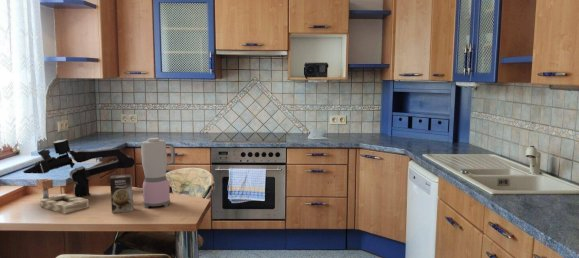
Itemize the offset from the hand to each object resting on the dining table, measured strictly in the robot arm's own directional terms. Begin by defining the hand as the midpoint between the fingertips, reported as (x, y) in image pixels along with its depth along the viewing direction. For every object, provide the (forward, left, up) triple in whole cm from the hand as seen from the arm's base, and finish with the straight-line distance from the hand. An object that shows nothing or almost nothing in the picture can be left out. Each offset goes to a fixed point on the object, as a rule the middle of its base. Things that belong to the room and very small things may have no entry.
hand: (24, 172), depth 221 cm
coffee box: (-35, +40, -16) cm, 55 cm away
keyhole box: (-14, +17, -16) cm, 27 cm away
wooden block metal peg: (-8, +2, -16) cm, 18 cm away
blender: (-52, +42, -16) cm, 69 cm away
